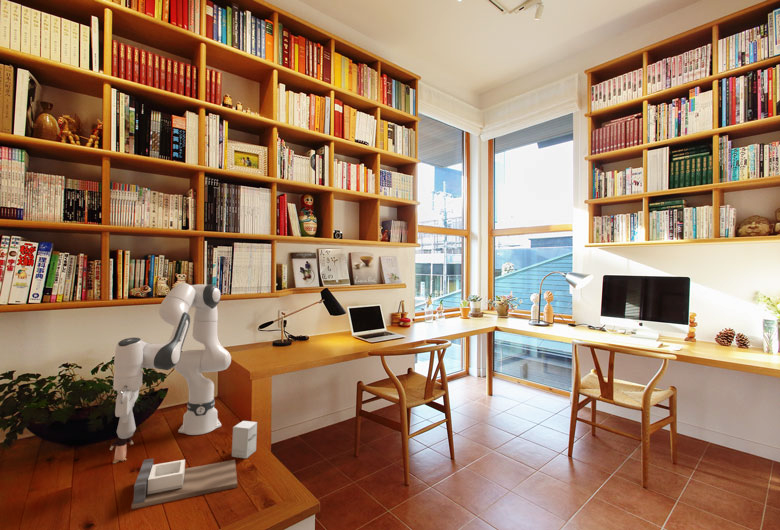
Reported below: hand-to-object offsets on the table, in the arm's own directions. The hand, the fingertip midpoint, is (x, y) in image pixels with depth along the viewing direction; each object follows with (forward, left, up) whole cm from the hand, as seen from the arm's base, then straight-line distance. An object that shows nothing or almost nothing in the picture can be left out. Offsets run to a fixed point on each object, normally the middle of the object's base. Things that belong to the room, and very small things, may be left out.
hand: (126, 419), depth 136 cm
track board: (+12, +22, -22) cm, 34 cm away
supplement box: (-4, +42, -22) cm, 48 cm away
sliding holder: (+12, +15, -20) cm, 28 cm away
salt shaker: (0, 0, -6) cm, 6 cm away
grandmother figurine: (-17, -4, -22) cm, 28 cm away
